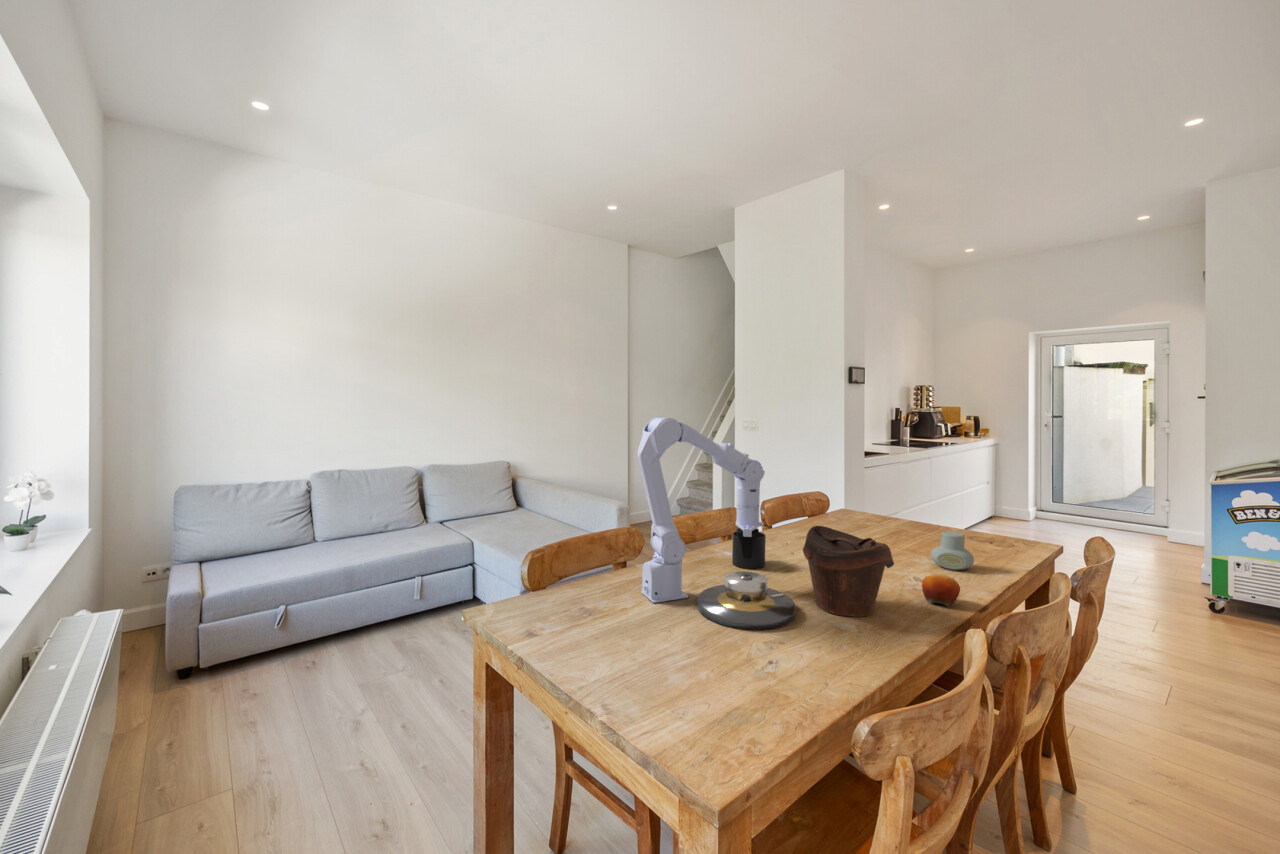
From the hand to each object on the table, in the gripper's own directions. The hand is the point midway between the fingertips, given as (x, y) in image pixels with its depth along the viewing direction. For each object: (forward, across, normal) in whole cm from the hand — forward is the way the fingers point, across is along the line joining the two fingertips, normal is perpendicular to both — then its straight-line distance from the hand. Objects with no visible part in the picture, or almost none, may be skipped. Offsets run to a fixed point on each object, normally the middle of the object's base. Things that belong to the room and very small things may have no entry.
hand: (747, 557), depth 139 cm
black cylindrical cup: (+8, +21, -1) cm, 22 cm away
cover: (+6, -10, 0) cm, 11 cm away
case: (+8, -8, -23) cm, 26 cm away
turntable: (+8, -15, 0) cm, 17 cm away
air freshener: (+8, +30, -58) cm, 66 cm away
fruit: (+8, 0, -46) cm, 47 cm away
